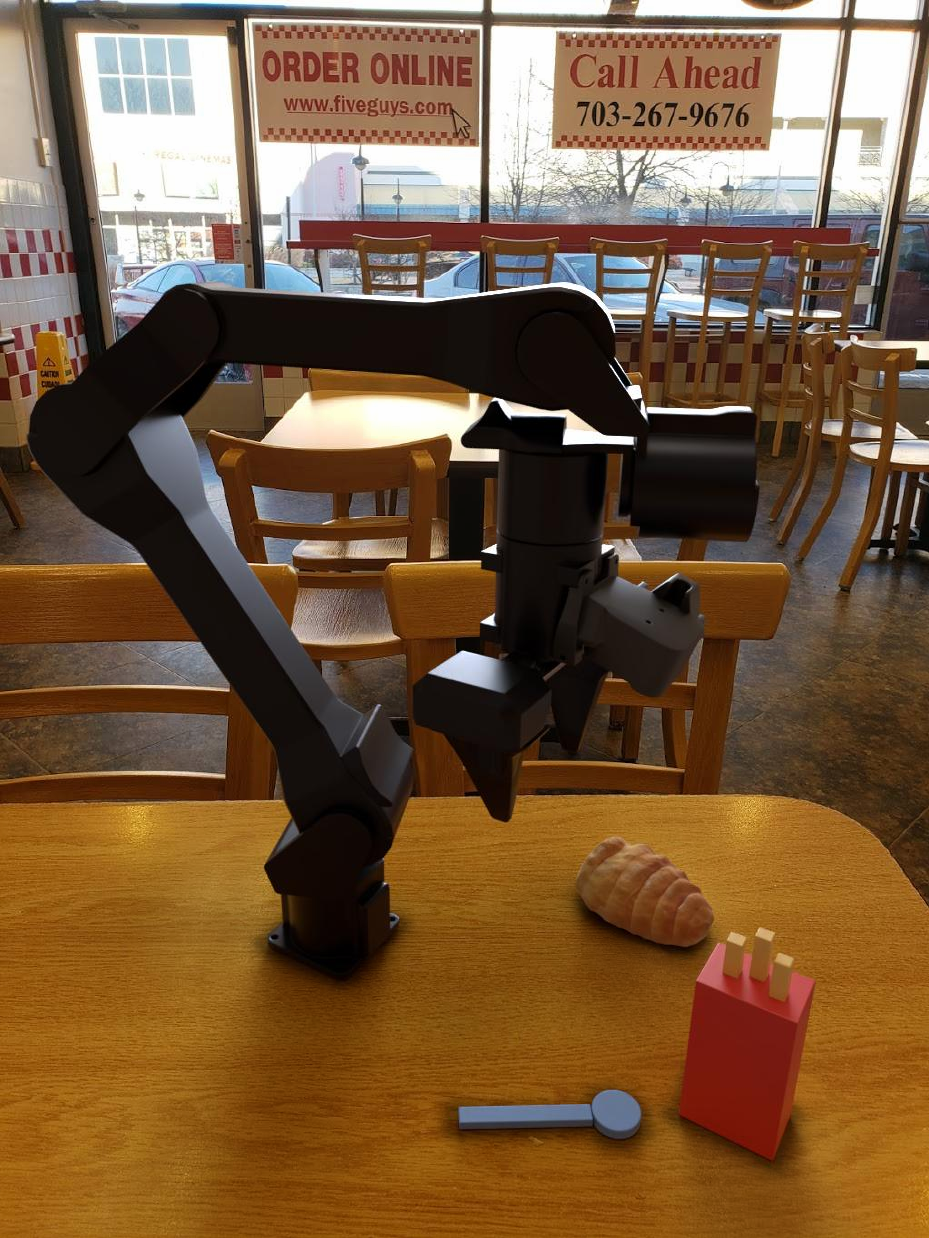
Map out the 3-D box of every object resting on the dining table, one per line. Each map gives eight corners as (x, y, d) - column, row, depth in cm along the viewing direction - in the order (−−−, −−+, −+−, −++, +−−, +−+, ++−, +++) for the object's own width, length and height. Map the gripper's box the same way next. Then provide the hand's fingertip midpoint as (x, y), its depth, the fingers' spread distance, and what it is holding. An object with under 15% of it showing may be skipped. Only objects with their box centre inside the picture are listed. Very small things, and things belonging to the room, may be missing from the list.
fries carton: (678, 1114, 50) (700, 940, 46) (700, 1071, 53) (723, 902, 48) (772, 1161, 47) (805, 981, 43) (791, 1113, 50) (823, 939, 46)
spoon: (459, 1143, 48) (459, 1134, 48) (457, 1100, 50) (457, 1092, 50) (645, 1139, 48) (646, 1130, 48) (634, 1096, 51) (635, 1088, 51)
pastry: (731, 922, 64) (738, 875, 63) (676, 971, 60) (681, 922, 59) (620, 862, 71) (623, 818, 69) (562, 902, 66) (565, 857, 65)
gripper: (625, 611, 39) (601, 916, 45) (746, 514, 54) (716, 752, 60) (404, 566, 44) (408, 844, 50) (570, 489, 59) (558, 710, 65)
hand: (538, 782), depth 56 cm, fingers open, 9 cm apart
